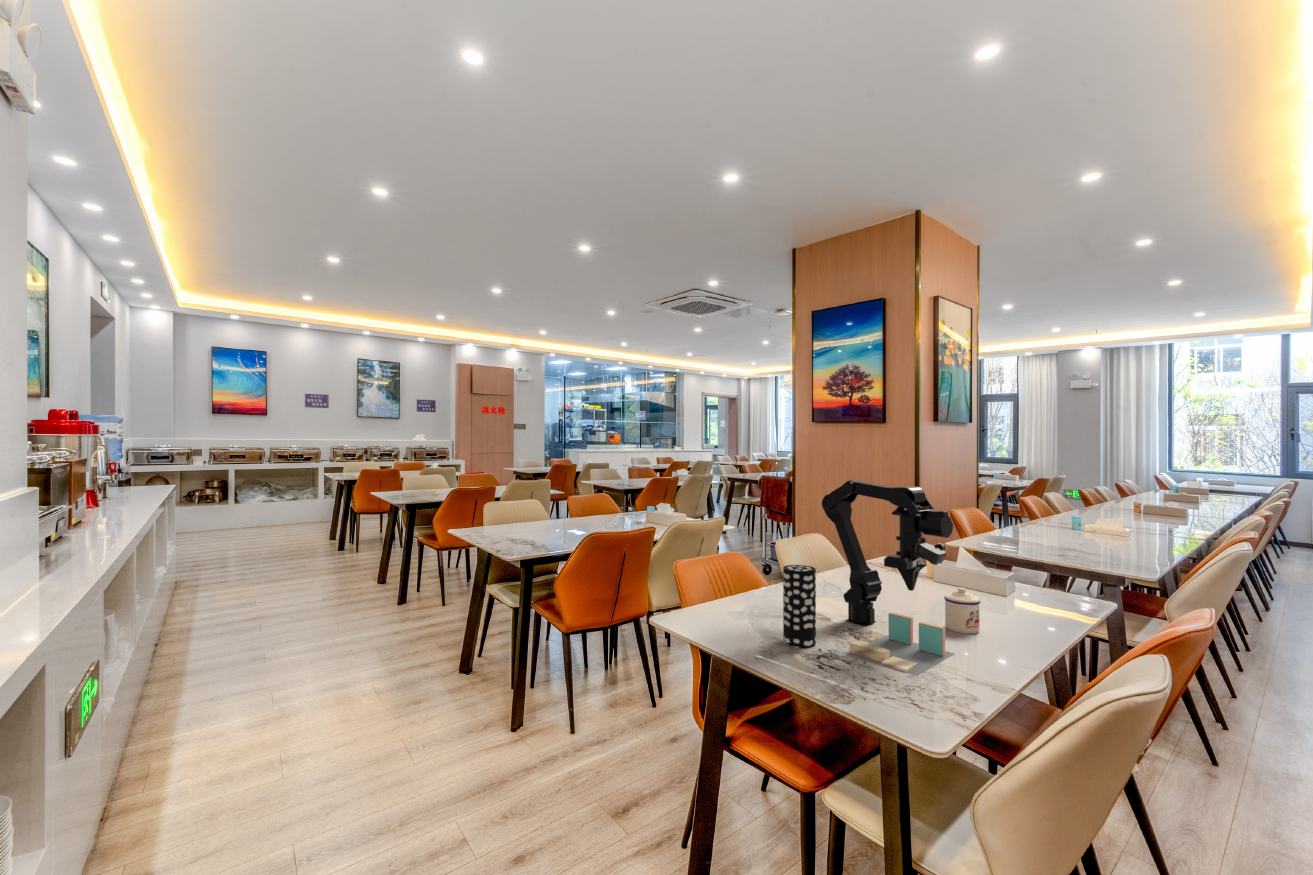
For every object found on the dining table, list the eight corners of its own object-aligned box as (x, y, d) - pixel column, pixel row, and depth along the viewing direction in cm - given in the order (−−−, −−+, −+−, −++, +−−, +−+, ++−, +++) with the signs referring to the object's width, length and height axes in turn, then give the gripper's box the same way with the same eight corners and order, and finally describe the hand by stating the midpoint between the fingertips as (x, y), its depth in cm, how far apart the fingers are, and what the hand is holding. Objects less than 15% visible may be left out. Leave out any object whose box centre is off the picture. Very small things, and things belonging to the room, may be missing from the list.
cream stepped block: (847, 653, 141) (846, 644, 141) (858, 648, 145) (858, 639, 145) (906, 672, 130) (906, 661, 130) (917, 665, 134) (917, 655, 134)
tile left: (887, 639, 152) (887, 613, 152) (890, 638, 153) (890, 612, 153) (910, 645, 147) (909, 618, 147) (912, 644, 148) (912, 617, 148)
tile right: (918, 650, 144) (917, 622, 144) (920, 649, 145) (920, 621, 145) (942, 657, 139) (942, 628, 139) (945, 655, 140) (945, 627, 140)
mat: (844, 655, 142) (844, 653, 142) (886, 636, 155) (886, 635, 155) (916, 677, 128) (916, 675, 128) (955, 655, 142) (955, 653, 142)
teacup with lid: (972, 636, 155) (971, 594, 155) (938, 628, 162) (938, 587, 163) (990, 628, 163) (989, 587, 163) (957, 620, 170) (957, 581, 170)
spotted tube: (818, 641, 151) (818, 566, 152) (813, 651, 144) (812, 572, 144) (787, 637, 155) (786, 563, 155) (780, 646, 147) (780, 569, 148)
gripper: (925, 540, 142) (925, 602, 142) (955, 532, 154) (956, 590, 154) (882, 535, 151) (883, 593, 151) (915, 528, 163) (915, 582, 163)
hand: (911, 590), depth 154 cm, fingers closed
